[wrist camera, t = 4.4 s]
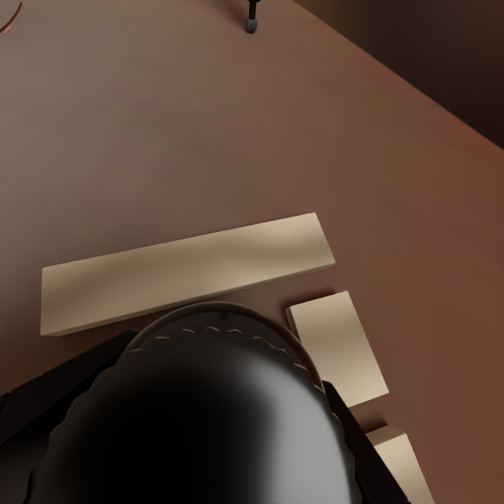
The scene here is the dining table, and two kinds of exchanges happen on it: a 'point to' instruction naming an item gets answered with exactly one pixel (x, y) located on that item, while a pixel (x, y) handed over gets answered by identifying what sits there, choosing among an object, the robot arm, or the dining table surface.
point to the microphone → (252, 16)
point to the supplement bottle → (201, 421)
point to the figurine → (10, 20)
